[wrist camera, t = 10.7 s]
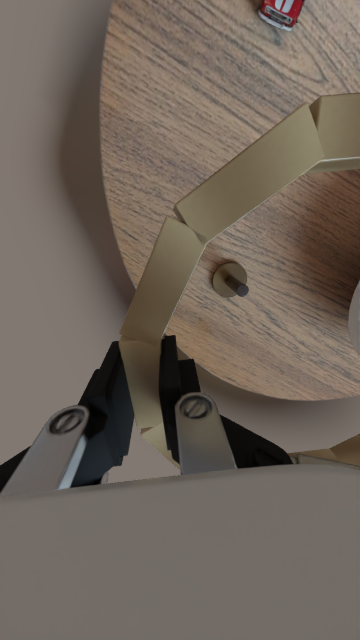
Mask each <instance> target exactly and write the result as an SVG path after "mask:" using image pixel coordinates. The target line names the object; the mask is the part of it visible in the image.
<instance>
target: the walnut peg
mask: <svg viewBox="0 0 360 640" xmlns="http://www.w3.org/2000/svg"><path fill="white" fill-rule="evenodd" d="M246 283H247V274H246V272H245V270H244V268H243V267H242V266H240V265H238V264H236V263H225V264H223V265H221V266H219V267H218V268H217V269H216V271H215V272H214V274H213V278H212V285H213V288H214V290H215V291H216V292H217V293H218V294H219V295H221V296H223V297H234V296H236V295H238V296H241V297H243V296H245V295H247V293H248V291H249V289H248V287H247V286H246Z"/></svg>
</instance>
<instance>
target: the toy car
mask: <svg viewBox="0 0 360 640" xmlns="http://www.w3.org/2000/svg"><path fill="white" fill-rule="evenodd" d="M304 1H305V0H261V2H260V5H258V6H259V7H258V8H257V9H256V10H257V12H258V13H259V16H260V17H261V18H262V19H264V20H265V21H266V23H269V24H271V25H273V26H275V27H278V28H279V29H280V30H283V29H285V30H286V31H291V30H292V29H293V28H292V27H293V25H294V24H295V25H296V23H298V22H297V18H298V16H299V14H300V12H301V9H302V6H303V4H304ZM258 4H259V3H258ZM266 7H267V8H266ZM259 9H261V10H259ZM295 9H296V10H295ZM258 10H259V11H258ZM266 16H267V17H266ZM268 17H269V18H268ZM289 19H290V20H291V21H290V23H288V21H289ZM295 22H296V23H295ZM283 24H285V26H284V25H283ZM287 25H288V27H287ZM289 26H290V27H289Z"/></svg>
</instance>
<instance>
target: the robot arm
mask: <svg viewBox="0 0 360 640" xmlns="http://www.w3.org/2000/svg"><path fill="white" fill-rule="evenodd" d="M158 389H159V399H160V405H161V412H162V418H163V425H164V431H165V438H166V444H167V450H168V451H169V450H171V454H172V459H173V460H174V461H176V462H177V463H178V464H179V465H180V471H181V475H178V476H169V477H160V478H151V479H142V480H134V481H125V482H118V483H108V484H107V481H108V470H110V468H112V467H113V466H121V465H122V461H123V456H125V455H128V451H129V444H130V438H131V432H132V427H133V421H134V410H133V405H132V401H131V396H130V391H129V387H128V382H127V377H126V373H125V368H124V363H123V359H122V357H121V352H120V348H119V341H114V342H112V344H111V346H110V348H109V350H108V352H107V354H106V357H105V359H104V361H103V363H102V365H101V367H100V369H96V370H95V371H94V373H93V375H92V377H91V379H90V381H89V383H88V385H87V387H86V389H85V391H84V393H83V395H82V397H81V399H80V401H79V403H78V405H73V406H69V407H66V408H64V409H62V410H60V411H58V412H57V413H55V414H54V415H53V416H52V417H51V418H50V419H49V420H48V421H47V422H46V424H45V426H44V427H43V428H42V430H41V431H40V433H39V435H38V436H37V438H36V439H35V441H34V442H33V444H32V445H31V446H30V447H28V448H27V449H25V450H23V451H22V452H20V453H19V454H17V455H16V456H14V457H13V458H11V459H10V460H8V461H7V462H5V463H4V464H2V465H0V640H360V466H358V465H353V464H348V463H343V462H338V461H333V460H328V459H323V458H318V457H314V456H309V455H304V454H299V453H297V457H294V456H289V455H288V454H287V453H286V452H285V451H284V450H283V449H282V448H280V447H279V446H277V445H275V444H274V443H272V442H270V441H268V440H266V439H264V438H262V437H261V436H259V435H257V434H255V433H253V432H251V431H250V430H248V429H246V428H244V427H242V426H240V425H239V424H237V423H235V422H233V421H231V420H229V419H227V418H226V417H224V416H221V415H220V414H219V411H218V409H217V405H216V403H215V401H214V400H213V398H212V397H210V396H209V395H207V394H205V393H201V391H200V386H199V381H198V377H197V372H196V367H195V363H194V359H187V360H178V355H177V346H176V336H175V335H172V336H165V339H162V343H161V355H160V362H159V383H158Z"/></svg>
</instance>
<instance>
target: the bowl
mask: <svg viewBox="0 0 360 640" xmlns="http://www.w3.org/2000/svg"><path fill="white" fill-rule="evenodd" d="M348 328H349V334H350V339H351V342H352V344H353V346H354V348H355V350H356V352H357V353H358V354H359V355H360V281H359V283H358V285H357V287H356V289H355V292H354V294H353V298H352V301H351V305H350V309H349V320H348Z"/></svg>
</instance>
